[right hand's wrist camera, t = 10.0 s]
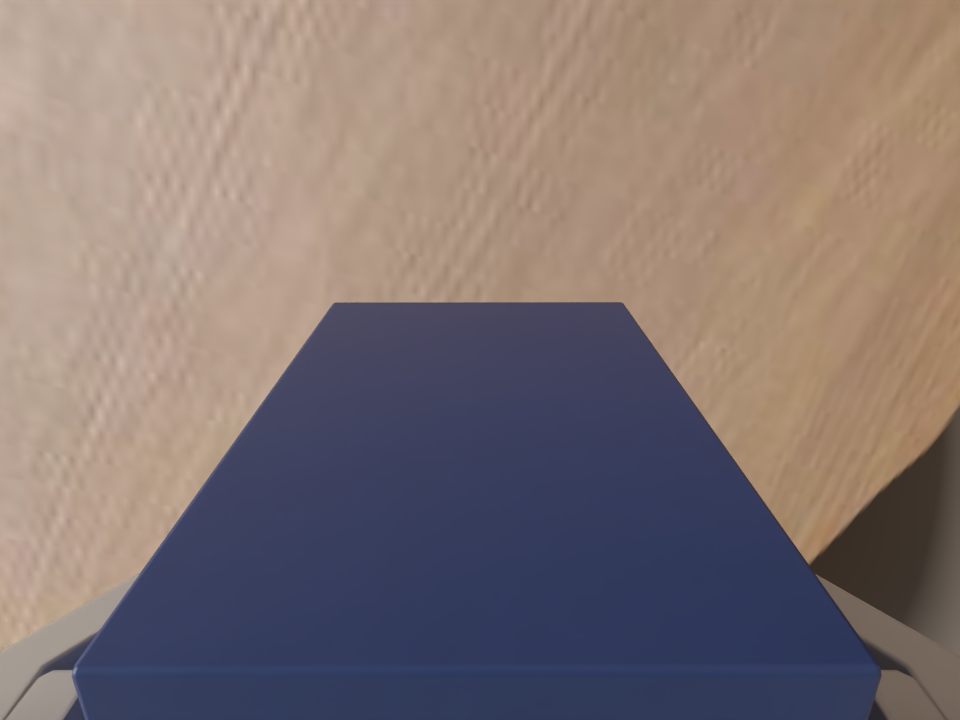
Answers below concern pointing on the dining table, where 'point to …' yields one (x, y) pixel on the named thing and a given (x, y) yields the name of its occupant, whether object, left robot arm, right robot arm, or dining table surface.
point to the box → (477, 545)
